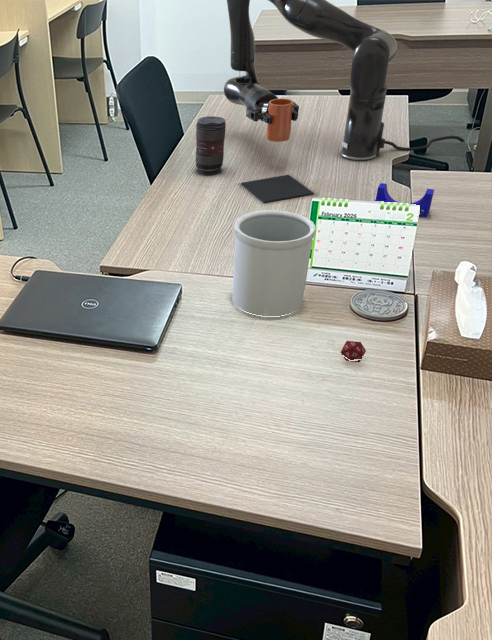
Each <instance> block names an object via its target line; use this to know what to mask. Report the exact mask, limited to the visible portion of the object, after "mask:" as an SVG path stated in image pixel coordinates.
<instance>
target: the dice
mask: <svg viewBox="0 0 492 640" xmlns="http://www.w3.org/2000/svg"><path fill="white" fill-rule="evenodd" d="M366 352H367V350H366V348H365V347H364V345H363V343H362V342H361V341H353V340H346V341H345V343H344V344H343V347H342V348H341V350H340V354H341V356H342V355H344V356H345V357H347V358H348V359H350V360H354V359H361V360H358V361H349V360H348V359H346V358H345V357H343V359H344V360H345V362H351V363H353V362H354V363H361V361H362V360H363V357H364V356H365V354H366ZM362 356H363V357H362Z"/></svg>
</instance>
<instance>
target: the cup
mask: <svg viewBox="0 0 492 640" xmlns="http://www.w3.org/2000/svg"><path fill="white" fill-rule="evenodd" d="M293 102H294V100H293V99H290V98H282V97H281V98H278V99H273V100H271V101H269V108H268V114H270V115H271V116H272V124H267V123H266V135H265V136H266V137H265V138H266V140H267V141H270V142H274V143H283V142H287V141H289V140H290V139H291V132H292V122H293V120H292V112H293Z"/></svg>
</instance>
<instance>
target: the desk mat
mask: <svg viewBox="0 0 492 640" xmlns="http://www.w3.org/2000/svg"><path fill="white" fill-rule="evenodd" d="M240 185H241V186H243V188H245V189H246V190H247V191H248V192H250V193H251V194H252V195H253V196H255V197H256V198H257V199H258V200H259V201H261V203H263V204H268V203H273V202H280V201H284V200H290V199H296V198H302V197H307V196H313V195H314V194H315V192H313V191H312V190H311V189H309V188H307V187H306V186H305V185H303V184H302V183H300V182H299V181H298V180H297V179H295V178H294V177H293V176H291V175H289V174H284V175H279V176H273V177H268V178H262V179H255V180H251V181H244V182H241V183H240Z"/></svg>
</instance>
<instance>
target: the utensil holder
mask: <svg viewBox="0 0 492 640" xmlns="http://www.w3.org/2000/svg"><path fill="white" fill-rule="evenodd" d="M233 230H234V234H235V238H234V240H235V241H234V257H233V258H234V259H233V260H234V261H233V275H232V305H233V306H234V308H235V310H237V311H238V312H240V313H241V314H242V315H245V316H247V317H249V318H252V319H257V320H263V321H280V320H285V319H288V318H292V317H293V316H295V315H297V314H298V313H299V312H300V310H301V308H302V305H303V300H304V295H305V289H306V284H307V278H308V272H309V271H308V270H309V266H310V258H311V253H312V245H313V239H314V238H315V235H316V225H315V222H313V221H312V220H311V219H310V218H308V217H306V216H304V215H302V214H299V213H296V212H292V211H288V210H280V209H279V210H277V209H264V210H263V209H262V210H255V211H252V212H248V213H244V214H243V215H241V216H239V217H238V218H237V219H236V220H235V222H234V229H233ZM233 301H234V302H233ZM234 303H235V304H236V305H237V306H238V307H239V308H241V309H242V310H244V311H246V312H249V313H252V314H256V315H262V316H280V317H261V316H256V315H252V314H249V313H246V312H244V311H242V310H241V309H239V308H238V307H237V306H236V305H235V304H234ZM296 310H297V311H296ZM294 311H295V312H294ZM292 312H293V313H292ZM289 313H291V314H289ZM285 314H289V315H285ZM281 315H285V316H281Z"/></svg>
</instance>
